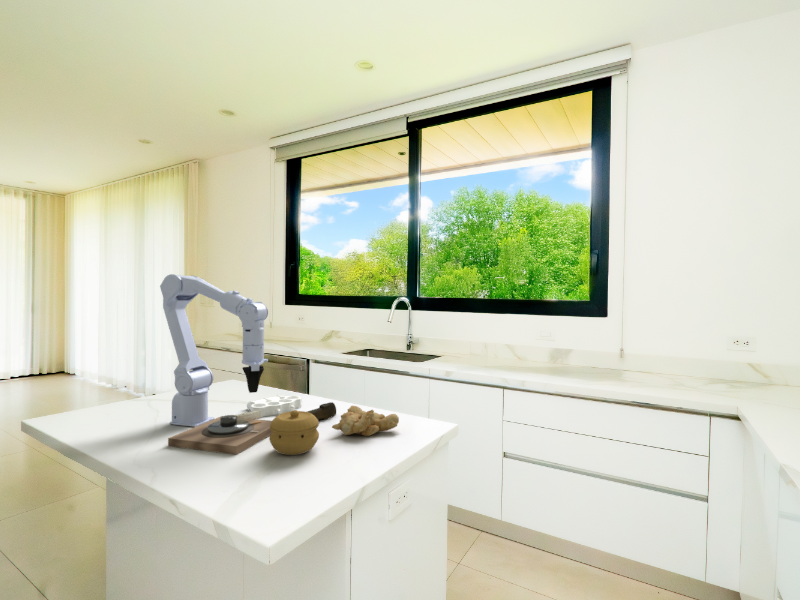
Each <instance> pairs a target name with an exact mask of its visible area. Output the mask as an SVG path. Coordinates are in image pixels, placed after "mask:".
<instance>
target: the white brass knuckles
mask: <svg viewBox="0 0 800 600" xmlns="http://www.w3.org/2000/svg"><path fill="white" fill-rule="evenodd" d="M302 399H303V398H302V397H301V396H299V395H289V396H287V395H286V396H284V395H276V396H272V397H266V398H262V399H257V400H253V401H248V402H247V403H246V408H247V410H248V409H250V410H249V411H250V412H252V411H257V410H260V411H261V418H264V417H267V416H276V415H277V416H278V415H280V414H282V413H286V412H291V411H293V410H297V409H301V408H302V407H303V406H302V405H303V404H302V403H303V401H302Z"/></svg>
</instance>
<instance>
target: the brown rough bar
mask: <svg viewBox="0 0 800 600" xmlns="http://www.w3.org/2000/svg"><path fill="white" fill-rule="evenodd" d="M306 412H309V413H311V414H313V415H314V416H315V417H316V418H317V419H318V420H322V419H323V421H325V420H329V419H330V418H333V417H334V416H336V415H337V407H336V405H335V403H334V402H332V401H331V402H330V401H329V402H327V403H322V404H320V405H319V407H318V408H314V409H312V410H308V411H306ZM328 418H329V419H328Z"/></svg>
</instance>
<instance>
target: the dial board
mask: <svg viewBox="0 0 800 600" xmlns="http://www.w3.org/2000/svg"><path fill="white" fill-rule="evenodd" d="M222 416H223V415H221V416H218V417H216V418H215V419H213V420H211V421H209V422H206V423H204V424H201V425H199V426H196V427H192V428H190V429H186V430H185V431H182V432H180V433H177V434H175V435H173V436H170V437H168V438H167V446H168V447H173V448H180V449H181V448H182V449H187V448H188V449H189V450H196V451H204V452H212V453H220V454H221V453H222V454H228V455H235V456H237V455H239V454H241V453H242V452H244V451H246V450H247V449H249V448H251V447H253V446H254V445H256V444H258V443H260V442H261V441H263V440H264V439H266V438H268V437H270V435H271V434H272V431H271V430H270V424H271V422H272V420H268V419H267V420H266V419H254V420H250V421H248V428H247V429H246V430H244V431H241V432H238V433H233V434H224V435H218V434H211V433H209V432H208V426H209V425H210V424H212V423H214V422H217V421H220V418H221V417H222Z"/></svg>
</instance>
